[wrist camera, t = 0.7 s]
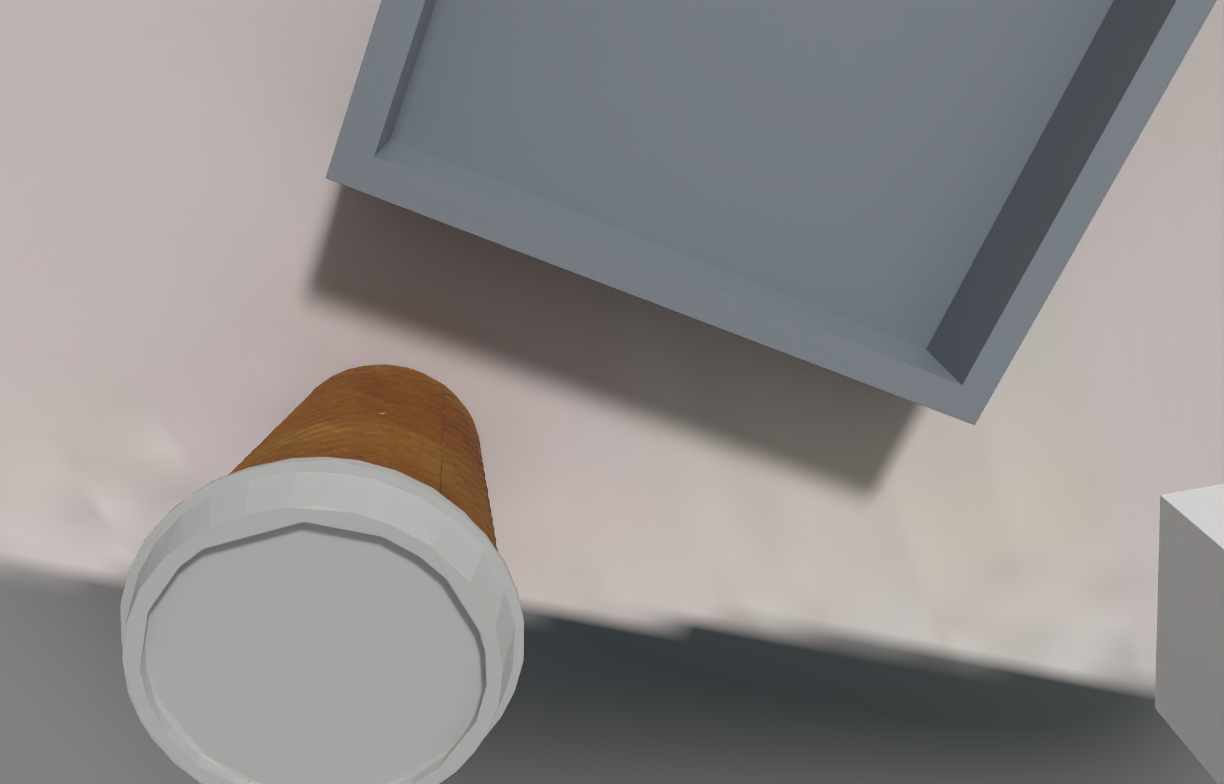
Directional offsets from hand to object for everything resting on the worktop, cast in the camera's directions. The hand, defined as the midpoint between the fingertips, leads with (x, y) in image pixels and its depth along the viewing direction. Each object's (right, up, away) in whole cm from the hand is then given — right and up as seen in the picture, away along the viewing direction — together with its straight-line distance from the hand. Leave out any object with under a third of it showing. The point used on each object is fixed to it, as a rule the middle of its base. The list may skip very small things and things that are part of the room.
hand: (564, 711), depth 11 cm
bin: (+6, +16, +19) cm, 26 cm away
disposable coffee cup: (-7, +1, +24) cm, 25 cm away
